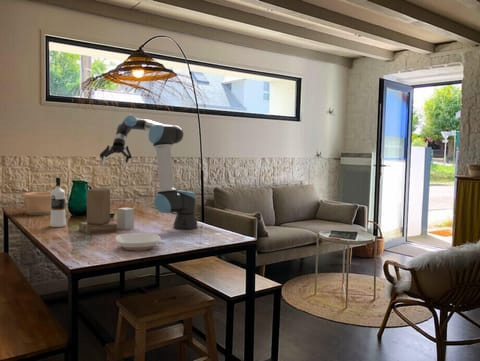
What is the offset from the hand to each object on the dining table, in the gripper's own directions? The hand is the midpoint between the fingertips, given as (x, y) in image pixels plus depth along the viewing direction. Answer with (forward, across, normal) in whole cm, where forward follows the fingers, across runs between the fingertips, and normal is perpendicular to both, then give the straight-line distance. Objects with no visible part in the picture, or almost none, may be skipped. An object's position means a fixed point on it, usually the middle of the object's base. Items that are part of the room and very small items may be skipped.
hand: (113, 165), depth 266 cm
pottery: (+4, +60, -49) cm, 78 cm away
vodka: (+36, +30, -17) cm, 50 cm away
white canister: (+37, -11, -17) cm, 42 cm away
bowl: (+72, -29, +18) cm, 79 cm away
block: (+41, +2, -6) cm, 41 cm away
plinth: (+44, +2, -10) cm, 46 cm away
